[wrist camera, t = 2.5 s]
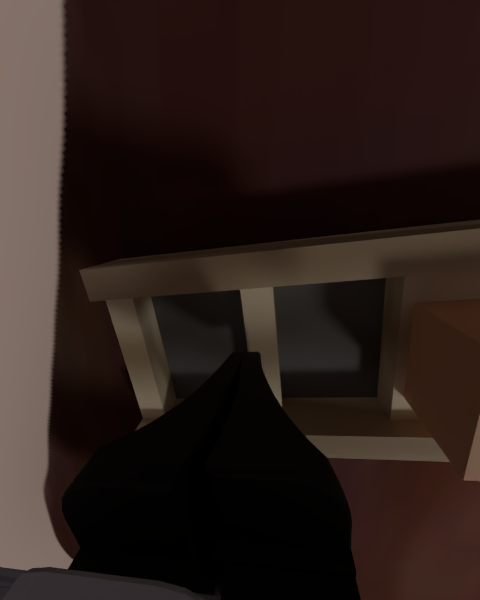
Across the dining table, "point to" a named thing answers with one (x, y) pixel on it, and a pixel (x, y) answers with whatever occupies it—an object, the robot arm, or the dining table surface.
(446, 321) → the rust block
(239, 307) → the trap lane
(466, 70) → the dining table surface
